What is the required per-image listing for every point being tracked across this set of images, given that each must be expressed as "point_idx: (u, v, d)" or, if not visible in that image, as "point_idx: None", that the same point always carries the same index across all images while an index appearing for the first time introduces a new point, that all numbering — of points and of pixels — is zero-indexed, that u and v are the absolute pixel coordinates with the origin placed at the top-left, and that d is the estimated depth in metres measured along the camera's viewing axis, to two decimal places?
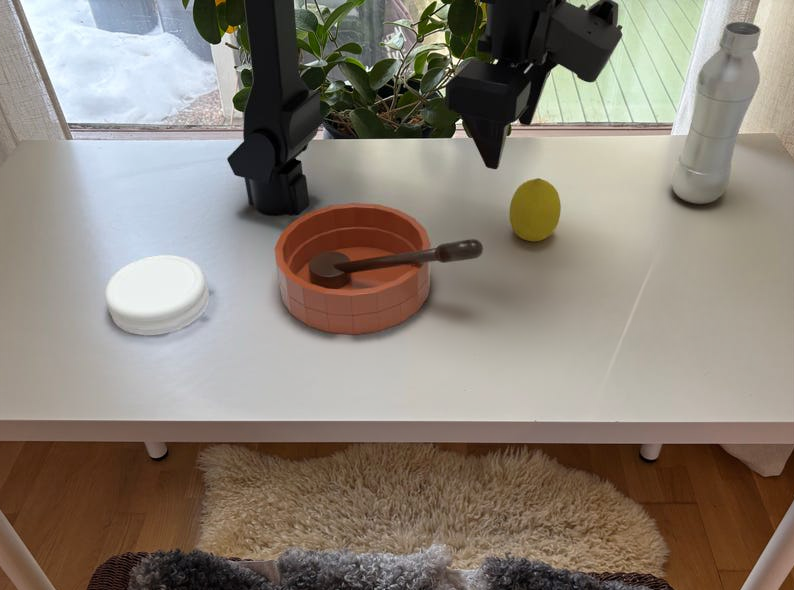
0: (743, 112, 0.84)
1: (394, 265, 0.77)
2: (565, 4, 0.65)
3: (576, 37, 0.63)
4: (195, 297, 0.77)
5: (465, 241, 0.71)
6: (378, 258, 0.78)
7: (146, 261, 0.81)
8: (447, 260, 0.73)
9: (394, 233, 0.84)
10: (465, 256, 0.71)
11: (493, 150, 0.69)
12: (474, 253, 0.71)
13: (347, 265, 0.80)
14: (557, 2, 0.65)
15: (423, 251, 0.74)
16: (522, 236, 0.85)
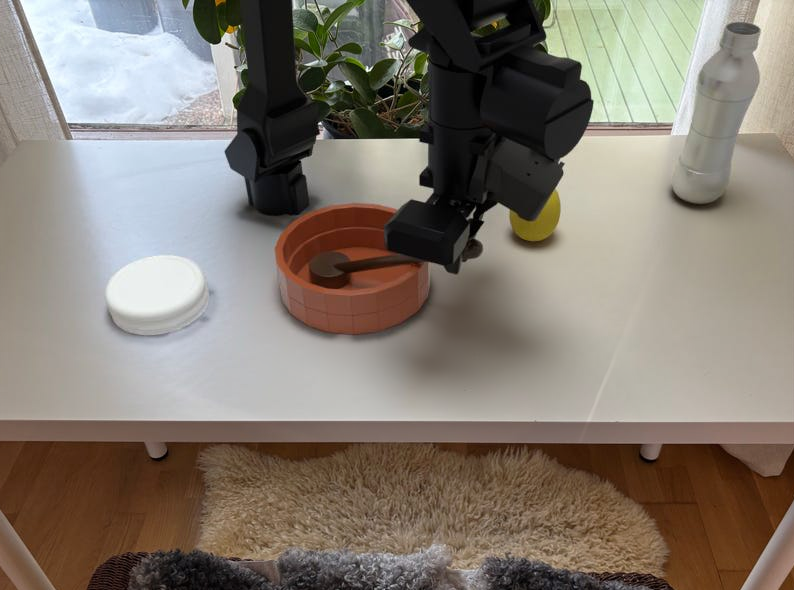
0: (743, 112, 0.84)
1: (394, 265, 0.77)
2: (506, 142, 0.64)
3: (515, 181, 0.62)
4: (195, 296, 0.77)
5: None
6: (378, 258, 0.78)
7: (146, 261, 0.81)
8: None
9: None
10: (465, 256, 0.71)
11: None
12: (474, 253, 0.71)
13: (347, 265, 0.80)
14: (497, 141, 0.64)
15: None
16: (522, 236, 0.85)
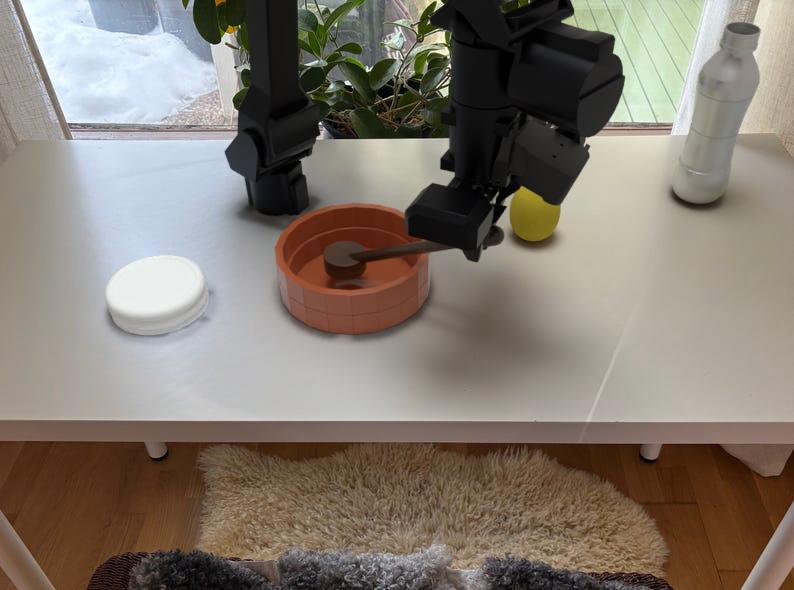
0: (743, 112, 0.84)
1: (412, 254, 0.75)
2: (530, 124, 0.62)
3: (540, 163, 0.60)
4: (195, 296, 0.77)
5: None
6: (395, 247, 0.75)
7: (146, 261, 0.81)
8: None
9: (394, 233, 0.84)
10: (486, 243, 0.69)
11: None
12: (496, 240, 0.69)
13: (363, 254, 0.78)
14: (522, 122, 0.62)
15: None
16: (522, 236, 0.85)
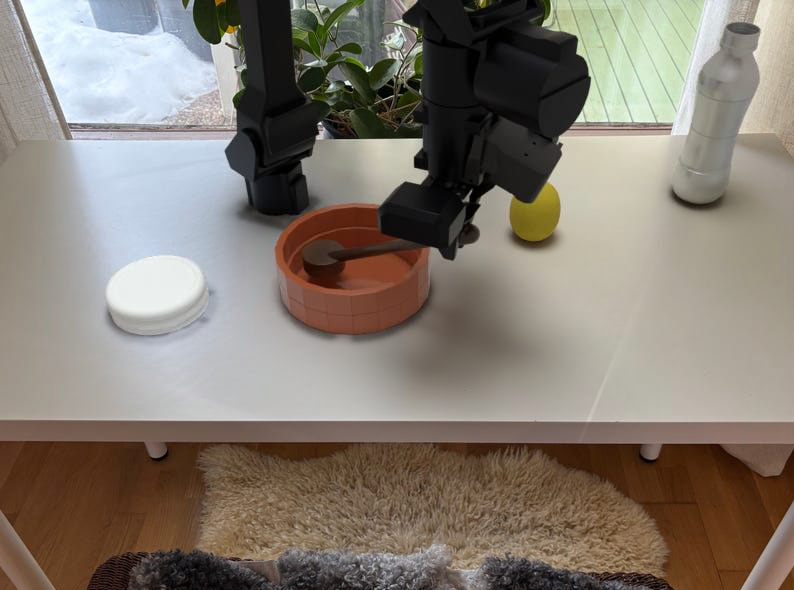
0: (743, 112, 0.84)
1: (389, 252, 0.75)
2: (503, 122, 0.63)
3: (512, 161, 0.60)
4: (195, 296, 0.77)
5: None
6: (372, 245, 0.76)
7: (146, 261, 0.81)
8: None
9: None
10: (462, 241, 0.70)
11: None
12: (471, 238, 0.69)
13: (341, 253, 0.78)
14: (494, 121, 0.62)
15: None
16: (522, 236, 0.85)
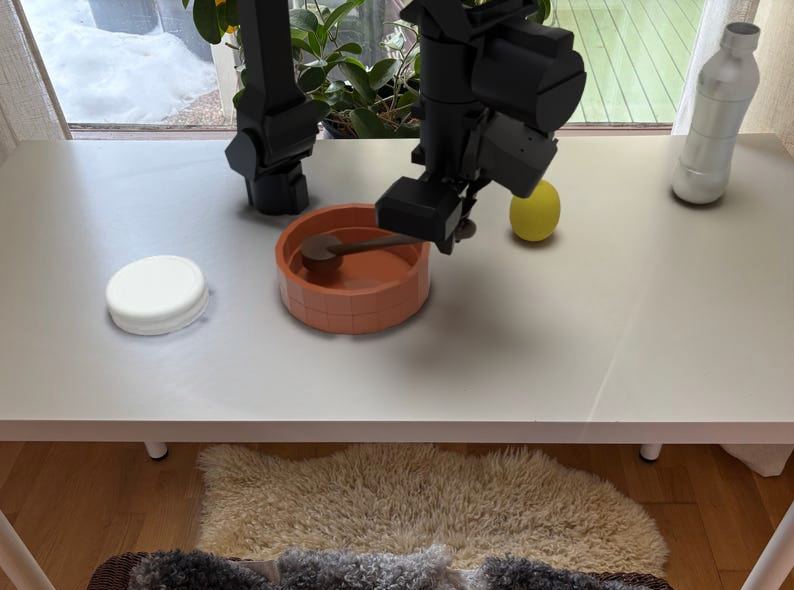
0: (743, 112, 0.84)
1: (387, 247, 0.76)
2: (499, 118, 0.63)
3: (508, 156, 0.61)
4: (195, 297, 0.77)
5: None
6: (370, 240, 0.76)
7: (146, 261, 0.81)
8: None
9: (394, 233, 0.84)
10: (458, 236, 0.70)
11: (445, 239, 0.70)
12: (467, 233, 0.70)
13: (339, 248, 0.79)
14: (490, 117, 0.63)
15: None
16: (522, 236, 0.85)
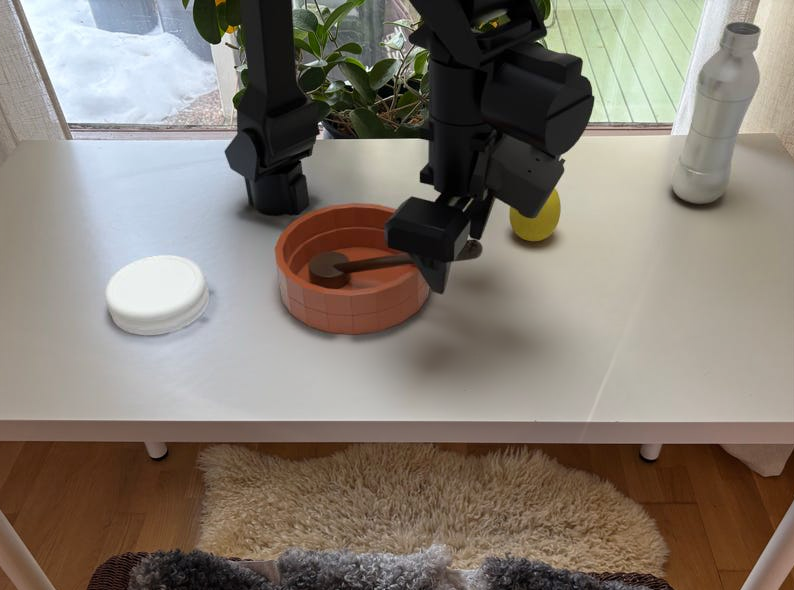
0: (743, 112, 0.84)
1: (394, 265, 0.77)
2: (507, 139, 0.64)
3: (515, 177, 0.62)
4: (195, 297, 0.77)
5: None
6: (377, 258, 0.77)
7: (146, 261, 0.81)
8: None
9: None
10: (465, 256, 0.71)
11: (437, 278, 0.68)
12: (474, 253, 0.71)
13: (347, 265, 0.80)
14: (498, 138, 0.64)
15: None
16: (522, 236, 0.85)
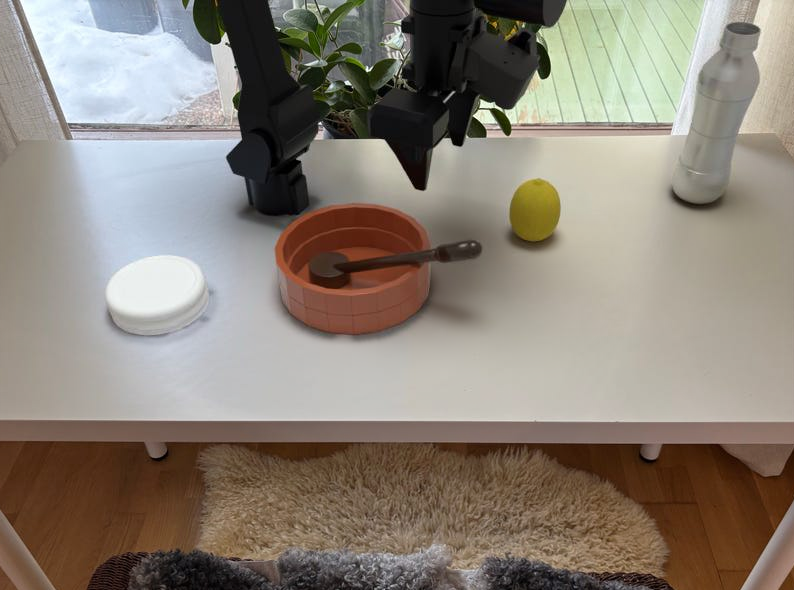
0: (743, 112, 0.84)
1: (394, 265, 0.77)
2: (484, 34, 0.68)
3: (491, 67, 0.65)
4: (195, 297, 0.77)
5: (465, 241, 0.71)
6: (377, 258, 0.77)
7: (146, 261, 0.81)
8: (447, 260, 0.73)
9: (394, 233, 0.84)
10: (465, 256, 0.71)
11: (419, 173, 0.72)
12: (474, 253, 0.71)
13: (347, 265, 0.80)
14: (476, 32, 0.67)
15: (423, 251, 0.74)
16: (522, 236, 0.85)
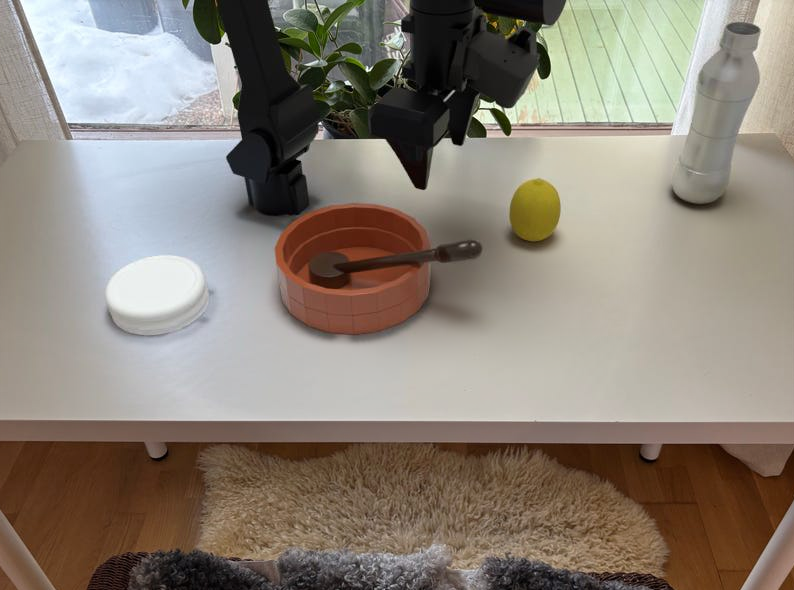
0: (743, 112, 0.84)
1: (394, 265, 0.77)
2: (484, 33, 0.68)
3: (492, 66, 0.65)
4: (195, 297, 0.77)
5: (465, 241, 0.71)
6: (377, 258, 0.77)
7: (146, 261, 0.81)
8: (447, 260, 0.73)
9: (394, 233, 0.84)
10: (465, 256, 0.71)
11: (419, 172, 0.72)
12: (474, 253, 0.71)
13: (347, 265, 0.80)
14: (476, 31, 0.67)
15: (423, 251, 0.74)
16: (522, 236, 0.85)
